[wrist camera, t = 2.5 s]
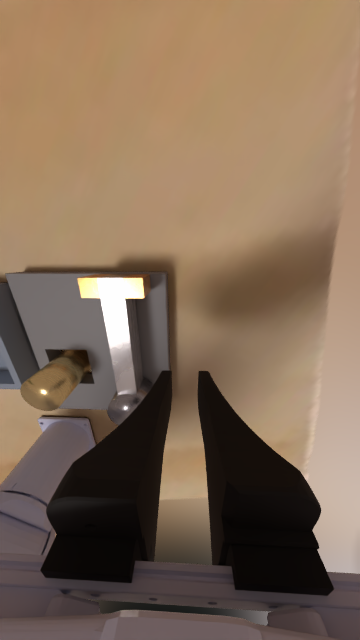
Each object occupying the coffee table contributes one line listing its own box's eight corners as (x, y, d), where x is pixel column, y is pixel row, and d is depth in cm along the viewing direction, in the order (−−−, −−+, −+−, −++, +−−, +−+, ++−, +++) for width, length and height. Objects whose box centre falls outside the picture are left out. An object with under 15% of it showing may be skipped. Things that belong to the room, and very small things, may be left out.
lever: (158, 402, 22) (153, 428, 18) (119, 401, 22) (107, 427, 19) (150, 274, 16) (140, 278, 13) (96, 274, 16) (73, 278, 13)
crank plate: (171, 399, 24) (169, 411, 23) (64, 396, 25) (54, 408, 23) (167, 271, 18) (165, 273, 16) (23, 271, 19) (4, 273, 17)
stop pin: (97, 370, 23) (66, 411, 17) (69, 369, 23) (28, 410, 17) (92, 344, 22) (55, 379, 16) (62, 344, 22) (14, 378, 16)
